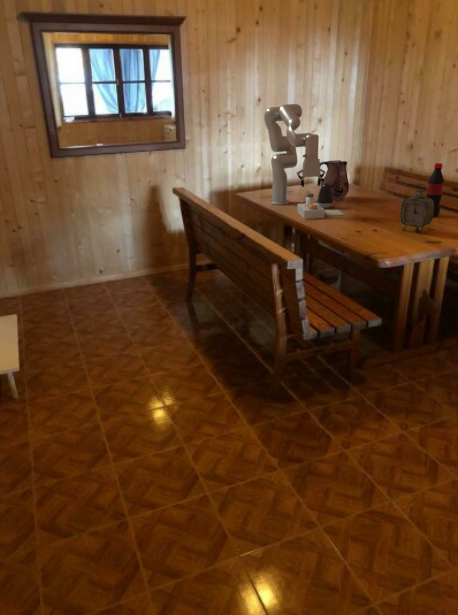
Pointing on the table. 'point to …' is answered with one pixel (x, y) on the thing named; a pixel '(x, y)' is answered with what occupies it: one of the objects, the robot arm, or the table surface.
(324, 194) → the pump dispenser
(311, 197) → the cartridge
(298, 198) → the table surface
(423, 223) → the tabletop clock
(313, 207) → the plunger
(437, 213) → the cola bottle
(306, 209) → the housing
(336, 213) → the mat
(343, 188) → the ceramic pitcher
